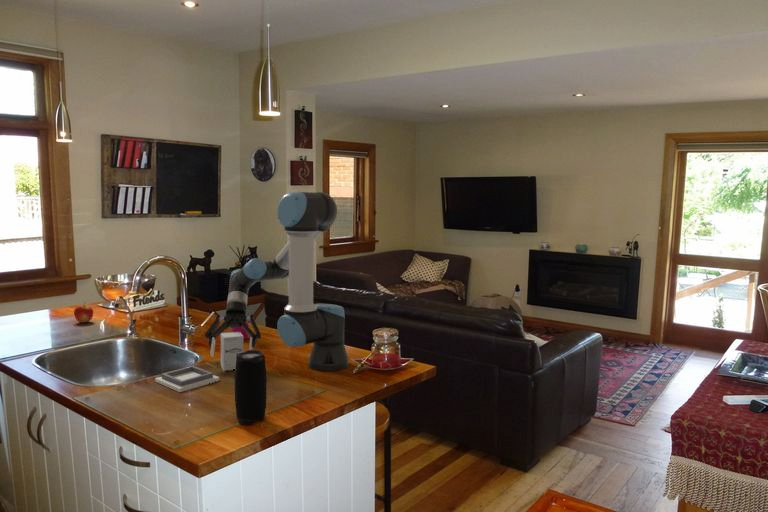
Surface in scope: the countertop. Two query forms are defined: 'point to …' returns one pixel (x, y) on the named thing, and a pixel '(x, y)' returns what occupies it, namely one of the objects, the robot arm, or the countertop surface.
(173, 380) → the collar board
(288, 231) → the robot arm
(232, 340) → the supplement box
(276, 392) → the countertop surface
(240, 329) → the pepper mill
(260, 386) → the portable speaker
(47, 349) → the countertop surface
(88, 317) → the apple
